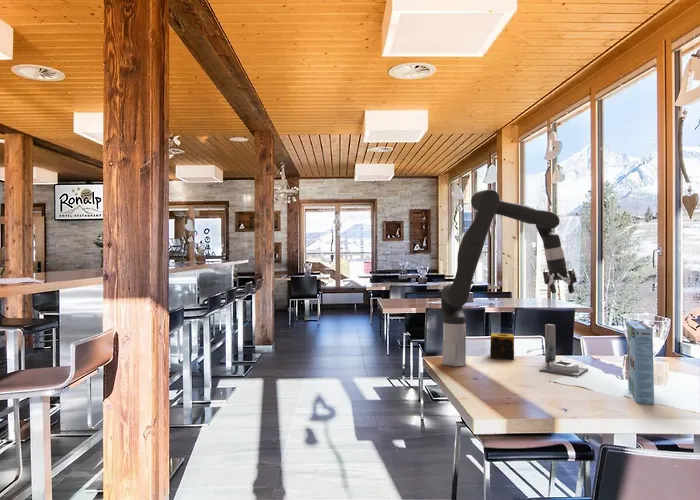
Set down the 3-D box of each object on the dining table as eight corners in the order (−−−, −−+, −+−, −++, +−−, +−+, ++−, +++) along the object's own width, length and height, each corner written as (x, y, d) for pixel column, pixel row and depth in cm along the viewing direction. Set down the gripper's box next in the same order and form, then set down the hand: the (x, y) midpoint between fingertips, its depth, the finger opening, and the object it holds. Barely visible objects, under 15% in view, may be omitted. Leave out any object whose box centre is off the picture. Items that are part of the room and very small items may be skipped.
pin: (553, 364, 197) (553, 325, 197) (543, 362, 200) (543, 324, 200) (556, 362, 200) (556, 324, 200) (547, 361, 203) (546, 323, 203)
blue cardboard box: (654, 405, 142) (653, 329, 142) (634, 403, 144) (634, 328, 144) (644, 389, 159) (643, 321, 160) (626, 387, 161) (626, 320, 162)
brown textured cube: (490, 358, 207) (489, 336, 208) (490, 354, 217) (490, 332, 217) (514, 360, 204) (514, 337, 205) (513, 355, 214) (513, 333, 214)
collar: (577, 377, 175) (577, 369, 175) (539, 371, 184) (539, 363, 184) (588, 370, 186) (587, 362, 186) (551, 365, 195) (551, 357, 195)
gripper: (535, 260, 212) (543, 295, 212) (564, 258, 200) (572, 295, 200) (546, 256, 216) (553, 291, 216) (574, 254, 203) (582, 290, 204)
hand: (562, 293), depth 208 cm, fingers open, 8 cm apart
